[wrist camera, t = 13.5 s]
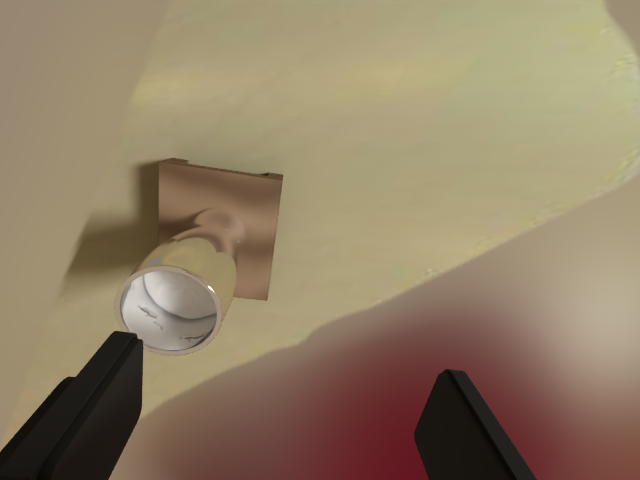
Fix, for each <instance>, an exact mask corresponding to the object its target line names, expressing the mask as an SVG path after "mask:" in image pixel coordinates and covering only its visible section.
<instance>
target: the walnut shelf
mask: <svg viewBox="0 0 640 480" xmlns="http://www.w3.org/2000/svg"><path fill="white" fill-rule="evenodd" d="M282 181H283V175H281V174H274V173H269V174H268V176H265V175H258V174H251V173H245V172H238V171H232V170H225V169H218V168H212V167H205V166H198V165H192V164H188V160H183V159H176V158H171V159H168V160H165V161H161V162H159V245H160V244H161V243H162V242H164V241H165V240H167V239H169V238H171V237H172V236H174V235H176V234H179V233H181V232H183V231H186V230H188V229H189V226H190V224H191V222H192V220H193V219H194V218H195V217H196V216H197V215H198V214H200V213H201V212H203V211H205V210H209V209H223V210H227V211H229V212H231V213H233V214H235V215H236V216H237V217H238V218H239V219H240V220H241V221H242V222H243V224H244V226H245V228H246V231H247V236H248V240H247V245H246V248H245V250H244V252H243V253H242V254H241V255H240V257H239V258H238V282H237V287H236V291H235V295H234V297H237V298H247V299H256V300H266V301H267V298H268V291H269V283H270V276H271V268H272V260H273V252H274V244H275V236H276V228H277V220H278V212H279V205H280V197H281V189H282Z"/></svg>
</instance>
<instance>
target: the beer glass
mask: <svg viewBox="0 0 640 480" xmlns="http://www.w3.org/2000/svg"><path fill="white" fill-rule="evenodd" d="M247 240H248V236H247V231H246V228H245V226H244V224H243V222H242V221H241V220H240V219H239V218H238V217H237V216H236V215H235V214H233V213H231V212H229V211H227V210H223V209H209V210H205V211H203V212H201V213H200V214H198V215H197V216H196V217H195V218H194V219H193V220H192V222H191V224H190V226H189V229H188V230H186V231H183V232H181V233H179V234H176V235H174V236H172V237H171V238H169V239H167V240H165V241H164V242H162V243H161V244H160V245H158V246H157V247H156V248H155V249H153V250H152V251H151V252H150V253H149V254H148V255H147V256H146V257H145V258H144V259H143V260H142V261H141V263H140V264H139V265H138V266H137V267H136V269H135V270H134V271H133V272H132V274H131V275H130V276H129V277H128V278H127V279H126V280H125V281H124V282H123V283H122V285H121V286H120V288H119V290H118V292H117V294H116V297H115V303H114V310H115V316H116V319H117V322H118V324H119V326H120V328H121V329H122V331H123V332H129V333H136V334H137V337H138V339H142V340H143V349H145V350H148V351H150V352H153V353H156V354H161V355H168V356H179V355H186V354H190V353H193V352H196V351H198V350H200V349H202V348H203V347H205V346H206V345H208V344H209V343H210V342H211V341H212V340H213V339H214V338H215V336H216V335H217V333H218V331H219V329H220V326H221V324H222V322H223V320H224V318H225V316H226V314H227V312H228V310H229V308H230V305H231V303H232V300H233V298H234V295H235V291H236V287H237V282H238V258H239V257H240V255H241V254H242V253H243V252H244V250H245V248H246V245H247Z"/></svg>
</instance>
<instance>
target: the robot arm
mask: <svg viewBox="0 0 640 480" xmlns="http://www.w3.org/2000/svg"><path fill="white" fill-rule="evenodd" d="M142 375H143V340H142V339H138V337H137V334H136V333H129V332H120V331H114V332H113V333H112V334H111V335H110V336H109V337H108V338H107V340H106V341H105V342H104V343H103V345H102V346H101V347H100V348H99V349H98V351H97V352H96V353H95V354H94V356H93V357H92V358H91V359H90V360H89V362H88V363H87V364H86V365H85V366H84V368H83V369H82V370H81V371H80V373H79V374H78V375H77V376H76V377H67V378H65V379H64V380H63V381H62V382H60V383H59V384H58V386H57V387H56V388H55V389H54V390H53V391H52V393H51V394H50V395H49V396H48V397H47V398H46V400H45V401H44V402H43V403H42V404H41V405H40V406H39V408H38V409H37V410H36V411H35V412H34V413H33V415H32V416H31V417H30V418H29V419H28V420H27V422H26V423H25V424H24V425H23V426H22V427H21V428H20V430H19V431H18V432H17V433H16V434H15V435H14V437H13V438H12V439H11V440H10V441H9V442H8V444H7V445H6V446H5V447H4V448H3V449H2V450H1V452H0V480H108V479H109V477H110V475H111V473H112V471H113V469H114V467H115V465H116V463H117V461H118V459H119V457H120V455H121V453H122V451H123V449H124V447H125V445H126V443H127V441H128V439H129V437H130V435H131V433H132V431H133V429H134V427H135V425H136V423H137V421H138V419H139V416H140V413H141V409H142ZM414 438H415V443H416V446H417V449H418V451H419V454H420V457H421V459H422V462H423V464H424V467H425V470H426V473H427V475H428V478H429V480H537V479H536V478H535V476H534V475H533V473H532V472H531V470H530V469H529V467H528V466H527V464H526V463H525V461H524V460H523V458H522V457H521V455H520V454H519V452H518V451H517V449H516V448H515V446H514V445H513V443H512V442H511V440H510V439H509V437H508V436H507V434H506V433H505V431H504V430H503V428H502V427H501V425H500V424H499V422H498V421H497V419H496V418H495V416H494V415H493V413H492V412H491V410H490V409H489V407H488V406H487V404H486V403H485V401H484V400H483V398H482V397H481V395H480V394H479V392H478V391H477V389H476V388H475V386H474V385H473V383H472V382H471V380H470V379H469V377H468V376H467V374H466V373H465V372H463V371H458V370H450V369H445V370H444V371H443V373H441V374H439V375H438V377H437V379H436V382H435V384H434V386H433V389H432V391H431V393H430V396H429V398H428V400H427V403H426V405H425V408H424V410H423V412H422V415H421V417H420V419H419V422H418V424H417V427H416V429H415V433H414Z"/></svg>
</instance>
